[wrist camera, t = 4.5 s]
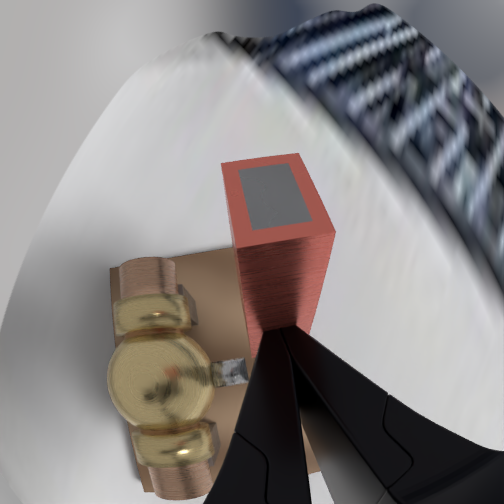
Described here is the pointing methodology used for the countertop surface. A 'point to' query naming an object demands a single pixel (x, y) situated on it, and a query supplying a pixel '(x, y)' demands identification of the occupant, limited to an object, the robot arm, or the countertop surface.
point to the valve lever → (277, 242)
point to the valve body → (166, 379)
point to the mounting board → (212, 340)
